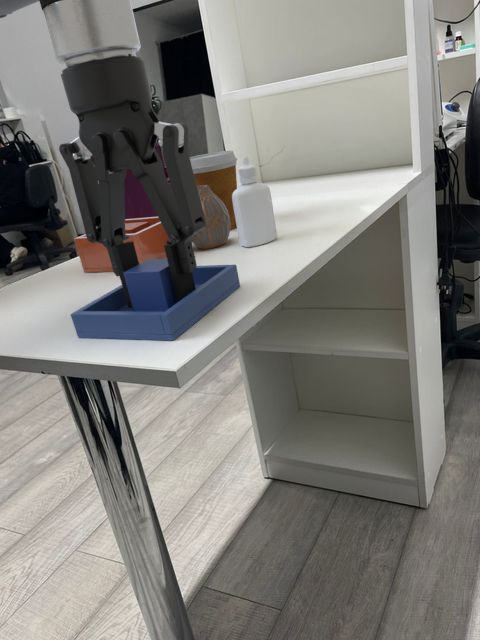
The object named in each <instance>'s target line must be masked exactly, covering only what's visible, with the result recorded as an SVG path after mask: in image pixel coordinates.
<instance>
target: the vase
mask: <svg viewBox="0 0 480 640" xmlns="http://www.w3.org/2000/svg"><path fill="white" fill-rule="evenodd" d="M197 189H198V193H199V197H200V201H201V205H202V209H203V213H204V217H205V221H206V227H205V229H203V230H201V231H199V232H198V233H196V234H194V235H193V236H192V239H191V241H192V245H194V246H195V247H197V248H199V249H202V250H207V249H215V248H218V247H221V246H224V244H225V243H226V242H227V240H228V238H229V236H230V233H231V230H230V225H231V224H230V217H229V213H228V210H227V208H226V206H225V205H224V203H223V202H222V201H221V200H220V199H219V198H218V197H217V196H216V195H215V194H214V193H213V192H212V191H211V189H210V188H209V186H208V185H202V186H197Z"/></svg>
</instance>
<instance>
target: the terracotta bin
mask: <svg viewBox="0 0 480 640" xmlns="http://www.w3.org/2000/svg"><path fill="white" fill-rule="evenodd" d="M138 222H149V224H150V227H148V228H145V229H143V230H141V231H139V232H137V233H132V234H125V235H127V236H128V235H129V239H127V240H125V241H123V242H124V243H126V242H130V241H133V243H134V247H135V251H136V254H137V258H138V262H139V264H140V263H142V262H144V261H146V260H148V259H166V258H167V257H166V252H165V248H164V245H166V244H167V243H166V242H167V241H169V240H170V239H169V237H168V235H167V233H166V231H165V229H164V227H163V225H162V223H161V221H160V219H159V217H158V216H150V217H135V218H125V224H126V223H138ZM73 240H74V244H75V247H76V250H77V254H78V257H79V260H80V263H81V267H82V269H83V273H111V272H112V273H114V271H113V268H112V264H111V261H110V257H109V254H108V250H107V248H106V247H104V246H103V244H100V243H97V242H94V243H91V242H89V241H88V239H87V237H86V233H85V234H82V235H80V236H77V237H75V238H73Z"/></svg>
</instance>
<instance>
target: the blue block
mask: <svg viewBox="0 0 480 640" xmlns="http://www.w3.org/2000/svg"><path fill="white" fill-rule="evenodd" d="M123 274H124V277H125V281H126V284H127V288H128V292H129V295H130V299H131V303H132V306H133V310H134V312H165V311H167V310H168V309H169V308H171V307H172V306H173V305H175V304H176V303H178V302H177V298H176V294H175V289H174V285H173V281H172V277H171V273H170V269H169V265H168V261H167V258H166V259H148V260H146V261H144V262H142V263H140V264H138V265H137V266H135V267H133V268H131V269H129V270H127V271H126V272H124V273H123Z"/></svg>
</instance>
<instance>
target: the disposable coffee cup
mask: <svg viewBox="0 0 480 640" xmlns="http://www.w3.org/2000/svg"><path fill="white" fill-rule="evenodd" d="M189 157H190V161H191V165H192V169H193V173H194V177H195V181H196V185H197V186H202V185H208V186H209V188H210V189H211V191H212V192H213V193H214V194H215V195H216V196H217V197H218V198H219V199H220V200H221V201H222V202H223V203H224V205H225V206H226V208H227V210H228V213H229V217H230V224H231V225H230V231H231V230H234V229H237V225H236V219H235V214H234V208H233V202H232V194H233V192H234V191H235V190H236V189H237V188H238V182H237V164H238V163H237V161H238V158H237V157H236V155H235V153H234V150H223V151H215V152H209V153H204V154H199V155H194V156H189Z"/></svg>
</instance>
